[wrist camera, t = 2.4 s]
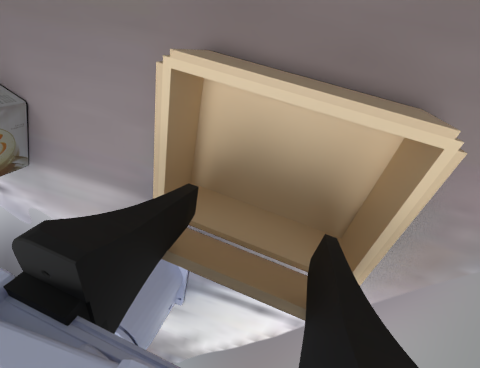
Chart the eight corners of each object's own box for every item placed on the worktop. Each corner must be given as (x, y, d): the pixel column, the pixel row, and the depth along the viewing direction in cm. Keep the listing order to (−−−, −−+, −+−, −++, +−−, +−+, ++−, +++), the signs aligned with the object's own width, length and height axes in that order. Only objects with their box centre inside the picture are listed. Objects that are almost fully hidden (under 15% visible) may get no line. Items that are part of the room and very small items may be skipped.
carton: (348, 242, 20) (355, 291, 16) (184, 181, 23) (152, 210, 18) (434, 112, 14) (480, 136, 10) (198, 47, 17) (156, 45, 12)
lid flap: (342, 289, 16) (339, 296, 16) (161, 217, 18) (159, 223, 18) (382, 341, 10) (378, 352, 10) (109, 226, 12) (106, 235, 12)
